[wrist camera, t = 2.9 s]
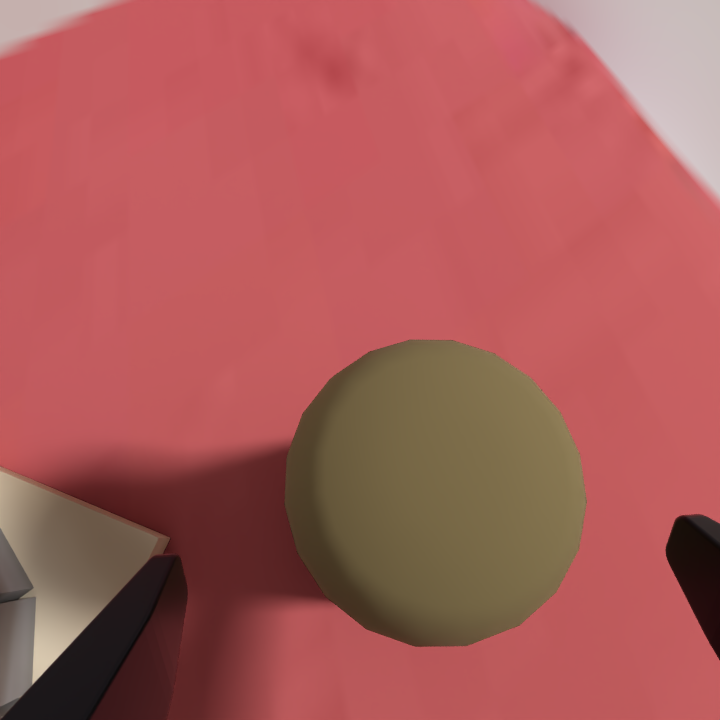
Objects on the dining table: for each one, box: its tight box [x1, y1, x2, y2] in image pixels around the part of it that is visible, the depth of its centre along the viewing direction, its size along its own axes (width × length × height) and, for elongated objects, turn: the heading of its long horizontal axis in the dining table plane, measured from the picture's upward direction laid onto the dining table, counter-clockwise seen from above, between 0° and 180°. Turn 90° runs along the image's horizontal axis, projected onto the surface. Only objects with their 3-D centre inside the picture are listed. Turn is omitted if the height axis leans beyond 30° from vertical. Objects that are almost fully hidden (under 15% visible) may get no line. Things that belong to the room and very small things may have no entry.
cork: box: [284, 340, 587, 647], centre depth 13 cm, size 6×6×11 cm
